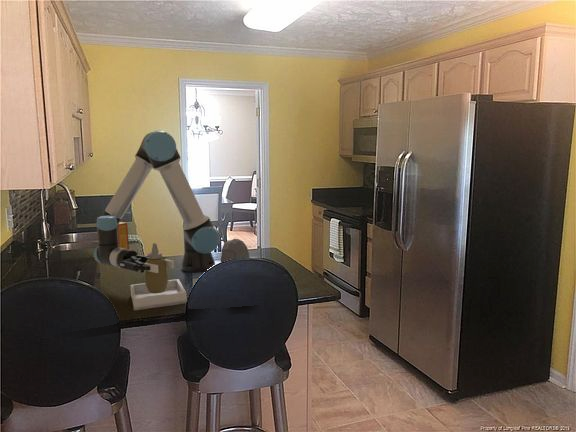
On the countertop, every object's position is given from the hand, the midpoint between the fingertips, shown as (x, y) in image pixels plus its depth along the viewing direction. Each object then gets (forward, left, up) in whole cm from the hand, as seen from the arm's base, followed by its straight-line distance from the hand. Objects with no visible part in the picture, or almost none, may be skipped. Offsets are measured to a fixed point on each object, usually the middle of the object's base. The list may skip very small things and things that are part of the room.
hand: (165, 266), depth 165 cm
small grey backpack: (-27, -3, -13) cm, 30 cm away
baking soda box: (+14, -93, -13) cm, 95 cm away
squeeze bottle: (+3, -4, -10) cm, 11 cm away
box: (+3, -4, -13) cm, 14 cm away
